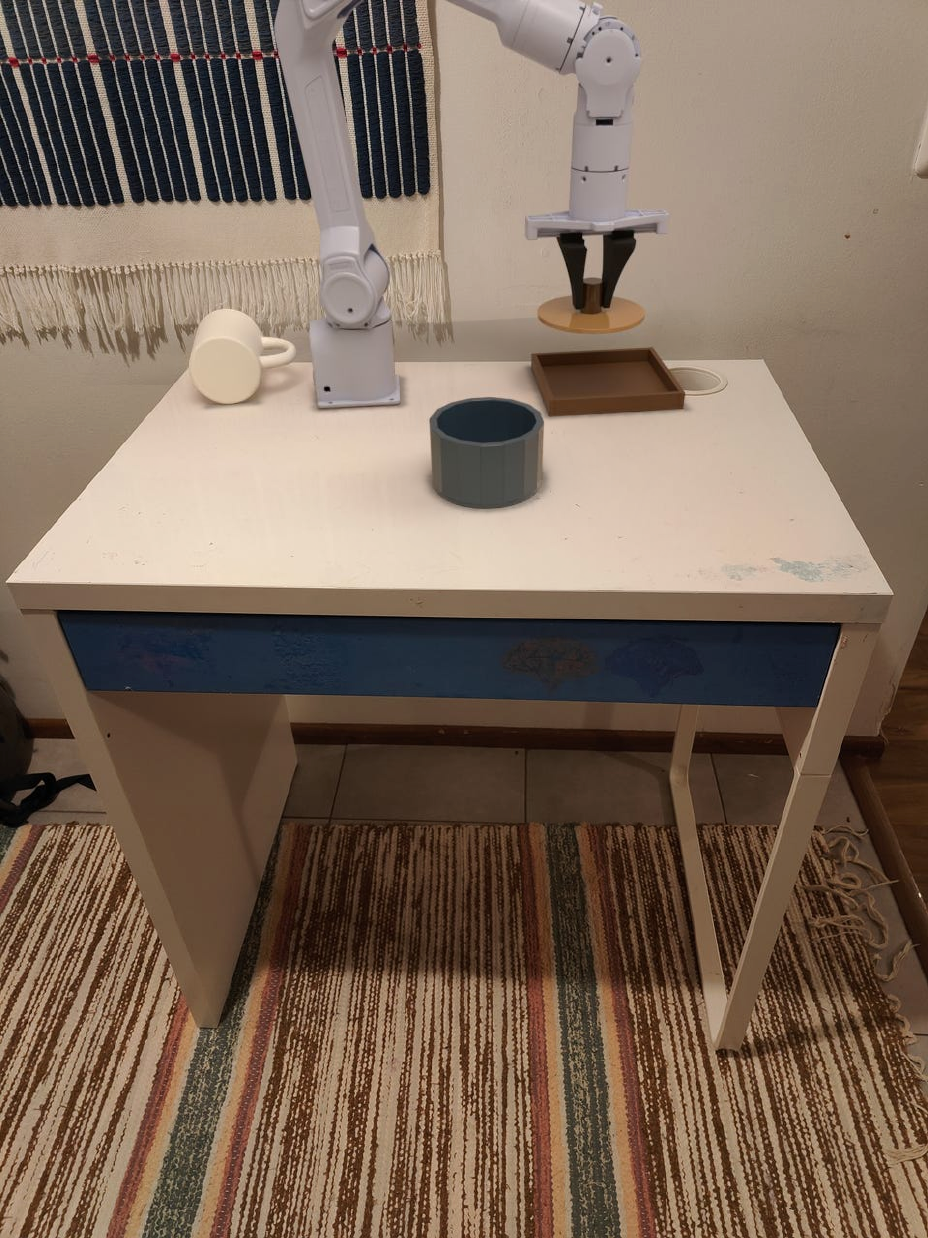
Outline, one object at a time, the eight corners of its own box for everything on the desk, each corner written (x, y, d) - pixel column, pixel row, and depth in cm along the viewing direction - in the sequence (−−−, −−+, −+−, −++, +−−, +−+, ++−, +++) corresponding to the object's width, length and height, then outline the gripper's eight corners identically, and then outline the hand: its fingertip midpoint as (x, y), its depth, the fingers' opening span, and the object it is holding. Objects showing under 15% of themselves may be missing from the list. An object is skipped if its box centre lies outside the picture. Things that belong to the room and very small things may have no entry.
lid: (545, 342, 89) (547, 300, 87) (530, 306, 99) (531, 267, 96) (655, 336, 90) (660, 294, 87) (630, 301, 99) (633, 262, 97)
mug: (196, 407, 100) (181, 339, 95) (203, 374, 108) (190, 310, 103) (300, 398, 101) (291, 331, 96) (300, 367, 109) (291, 303, 104)
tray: (549, 416, 96) (549, 400, 95) (530, 368, 107) (531, 353, 106) (683, 408, 96) (685, 392, 95) (651, 361, 108) (653, 346, 107)
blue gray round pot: (435, 511, 80) (432, 448, 76) (430, 459, 88) (427, 399, 84) (548, 504, 80) (551, 442, 76) (532, 453, 89) (534, 394, 85)
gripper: (533, 177, 82) (529, 321, 90) (683, 171, 82) (666, 314, 91) (523, 163, 87) (520, 300, 95) (664, 157, 88) (649, 293, 96)
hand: (590, 306), depth 93 cm, fingers closed on lid, 2 cm apart
